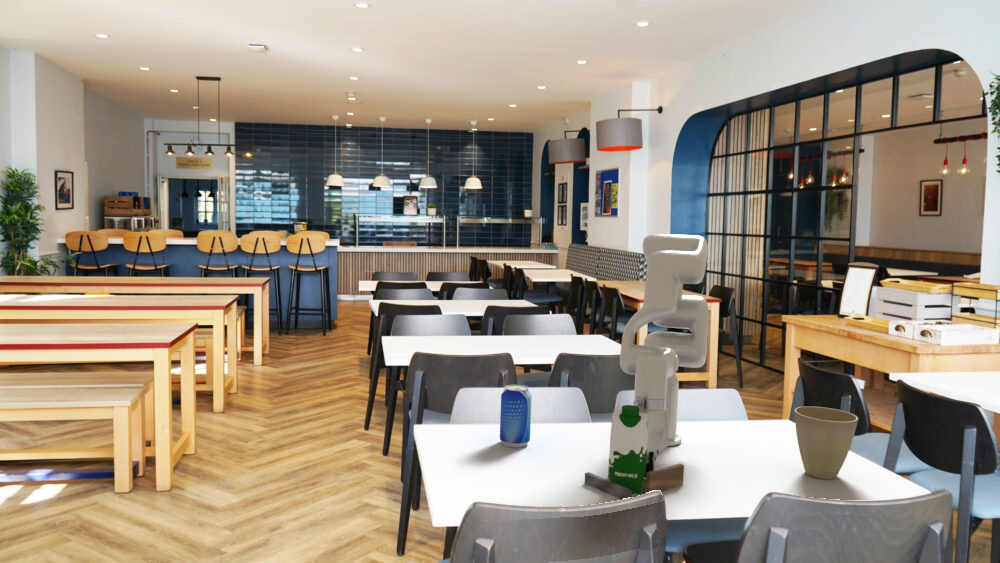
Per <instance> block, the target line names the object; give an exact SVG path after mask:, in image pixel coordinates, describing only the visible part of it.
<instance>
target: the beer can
mask: <svg viewBox="0 0 1000 563" xmlns="http://www.w3.org/2000/svg"><path fill="white" fill-rule="evenodd" d="M529 388H530V387H529V386H527V385H523V384H509V385H505V386H504V390H503V392H502V393H501V395H500V418H499V420H500V421H499V422H500V423H499V440H500V442H501V444H502V445H503V446H505V447H508V448H524V447H526V446H527V445H528V443H529V442H530V441H531V420H532V419H531V418H532V417H531V416H532V397H533V396H532V394H531V392H530V389H529Z"/></svg>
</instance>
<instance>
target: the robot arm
mask: <svg viewBox="0 0 1000 563" xmlns="http://www.w3.org/2000/svg"><path fill="white" fill-rule="evenodd" d="M642 251H643V257H644V258H645V261H646V263H647V264H646V265H647V266H646V275H645V285H644V294H643V303H642V306H641V307H640V309H638V310H637V312H635V313H634V314H633V315H632V316H631V317H630V319H629V320H628V321H627V323H626V325H625V327H624V329H623V333H622V337H621V344H620V352H619V353H620V355H619V365H620V369H621V370H622V371H623V372H624V373H625V374H628V375H634V376H635V377H634V378H635V379H634V396H633V403H632V404H633V406H637V407H639V412H640V413H647V418H648V424H647V428H648V445H647V464H646V472H645V477H644V479H646V473H647V472H650V471H654V470H655V468H654V467H655V463H654V462H656V460H657V455H658V454H659V452H662V451H663V450H665V449H666V448H667V447H672V446H673V447H674V446H678V445H680V444H681V443H682V438H681V436H680V435H679V434H677V424H678V422H677V421H678V404H679V389H680V387H679V386H680V383H679V378H678V377H677V374H676V372H677V371H678V370H679V369H678V368H679V367H683V368H702V367H703V366H704V365H705V363H706V361H707V360H706V359H707V353H708V341H709V340H708V338H709V337H708V336H709V319H710V318H709V316H710V315H709V312H710V311H709V305H708V302H707V300H706V299H705V298H704V297H703V296H700V295H692V294H684V293H683V284H687V285H698V284H700V283H701V282H702V281H703V279H704V276H705V273H706V269H707V268H706V267H707V260H708V254H709V245H708V242H707V239H706V238H705V237H704V236H701V235H696V234H695V235H694V234H692V235H691V234H674V233H654V234H649V235H647V236H645V237H644V238H643V240H642ZM649 323H653V324H654V325H655V326H658V327H662V328H669V329H670V328H673V329H683V330H689V331H690V332H691V333H687V332H676V331H666V330H665V331H664V330H663V331H662V330H659V331H658V330H656V331H652V332H650V333H648V334H646V336H645V338H644V340H643V344H634V338H635V336H636V333H637V332H638V331H639V330H640V329H641V328H642V327H644V326H646V325H647V324H649Z"/></svg>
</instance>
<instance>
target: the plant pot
mask: <svg viewBox="0 0 1000 563" xmlns="http://www.w3.org/2000/svg"><path fill="white" fill-rule="evenodd" d="M794 419H795V420H794V421H795V430H796V439H797V444H798V449H799V453H800V454H799V455H800V458H801V461H802V465H803V468H804V472H805V474H807V475H808V476H810V477H813V478H816V479H820V480H821V479H822V480H834V479H837V477H838V475H839V473H840V471H841V469H842V468H843V465H844V463H845V461H846V459H847V456H848V455H849V451H850V449H851V446H852V443H853V440H854V438H855V432H856V429H857V425H858V422H859V417H858V416H857V415H855V414H854V413H851V412H848V411H846V410H845V411H844V410H841V409H838V408H830V407H823V406H799V407H796V408H794Z"/></svg>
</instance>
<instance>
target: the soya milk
mask: <svg viewBox="0 0 1000 563" xmlns="http://www.w3.org/2000/svg"><path fill="white" fill-rule="evenodd" d="M610 421H611V422H610V436H609V457H608V467H609V473H610V478H609V481H611V482H614V483H616V484H618V485H621V486H623V487H625V488H628V489H630V490H632V494H638V495H642V491H643V487H644V483H645V482H644V481H645V478H644V477H645V472H646V464H647V445H648V428H647V424H648V418H647V413H640V412H639V407H637V406H634V405H632V404H625V405H622V406H621V408H614V411H613V413H612V416H611V420H610Z"/></svg>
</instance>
